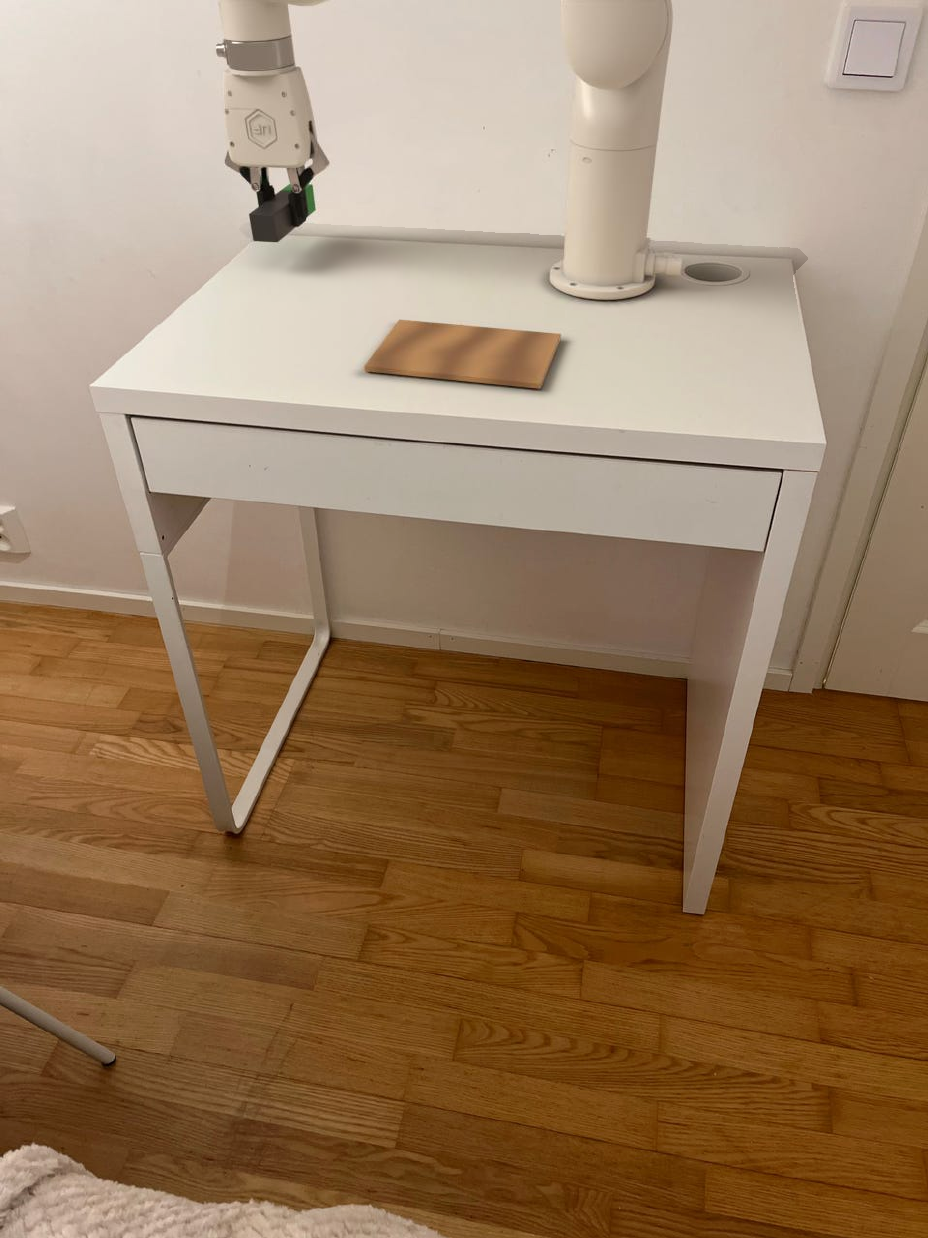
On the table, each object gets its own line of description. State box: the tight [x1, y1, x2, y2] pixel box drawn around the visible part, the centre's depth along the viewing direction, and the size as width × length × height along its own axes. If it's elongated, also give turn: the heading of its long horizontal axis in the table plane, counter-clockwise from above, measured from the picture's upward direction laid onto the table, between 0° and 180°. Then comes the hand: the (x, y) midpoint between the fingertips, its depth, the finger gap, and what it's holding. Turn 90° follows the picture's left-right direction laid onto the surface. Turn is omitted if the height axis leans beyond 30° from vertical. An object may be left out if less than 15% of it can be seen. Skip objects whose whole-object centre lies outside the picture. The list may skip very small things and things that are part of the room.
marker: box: [248, 183, 317, 243], centre depth 118 cm, size 13×3×3 cm, turn 166°
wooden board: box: [364, 319, 562, 390], centre depth 97 cm, size 18×12×1 cm, turn 76°
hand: (285, 221), depth 118 cm, fingers closed on marker, 3 cm apart
